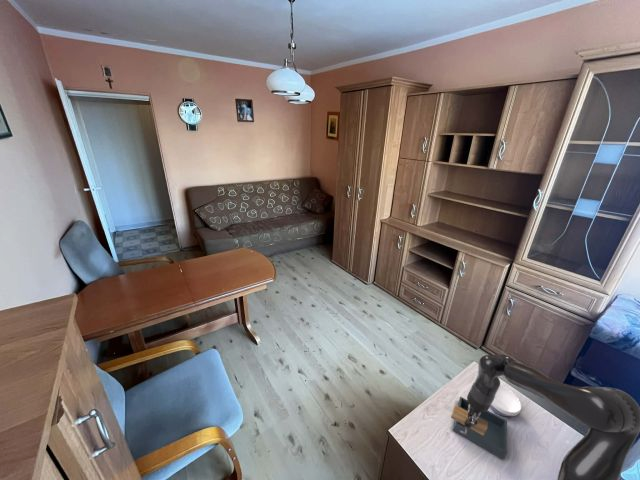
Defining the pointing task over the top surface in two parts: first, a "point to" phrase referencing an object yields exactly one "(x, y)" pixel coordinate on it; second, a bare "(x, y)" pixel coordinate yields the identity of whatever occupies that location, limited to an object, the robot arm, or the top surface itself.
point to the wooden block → (461, 417)
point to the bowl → (506, 402)
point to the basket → (493, 436)
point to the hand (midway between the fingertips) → (467, 422)
